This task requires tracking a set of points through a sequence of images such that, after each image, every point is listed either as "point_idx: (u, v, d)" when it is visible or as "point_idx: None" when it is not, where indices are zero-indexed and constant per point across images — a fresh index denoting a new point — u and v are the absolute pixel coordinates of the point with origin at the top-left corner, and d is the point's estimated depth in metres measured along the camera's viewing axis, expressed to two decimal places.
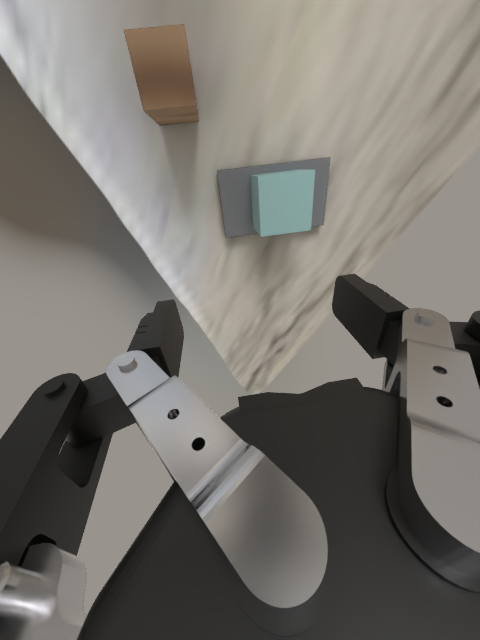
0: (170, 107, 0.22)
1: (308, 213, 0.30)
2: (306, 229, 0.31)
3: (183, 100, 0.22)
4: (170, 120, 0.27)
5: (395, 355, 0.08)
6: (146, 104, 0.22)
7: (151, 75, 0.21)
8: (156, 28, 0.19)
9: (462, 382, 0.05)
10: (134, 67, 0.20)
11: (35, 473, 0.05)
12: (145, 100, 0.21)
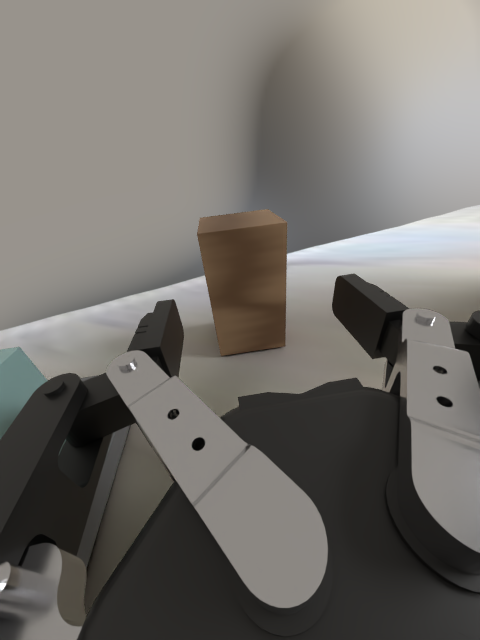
0: None
1: None
2: None
3: (204, 228, 0.13)
4: None
5: (395, 355, 0.08)
6: (205, 218, 0.16)
7: (232, 217, 0.16)
8: (275, 215, 0.15)
9: (462, 382, 0.05)
10: (238, 213, 0.17)
11: (35, 473, 0.05)
12: (209, 217, 0.16)
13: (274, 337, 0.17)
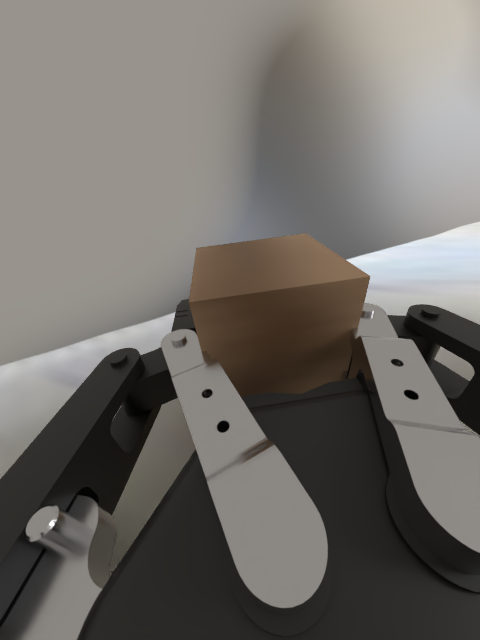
0: None
1: None
2: None
3: (204, 282, 0.07)
4: None
5: None
6: (205, 249, 0.10)
7: (251, 250, 0.09)
8: (329, 251, 0.08)
9: (418, 371, 0.05)
10: (259, 240, 0.10)
11: (91, 433, 0.05)
12: (212, 248, 0.10)
13: None
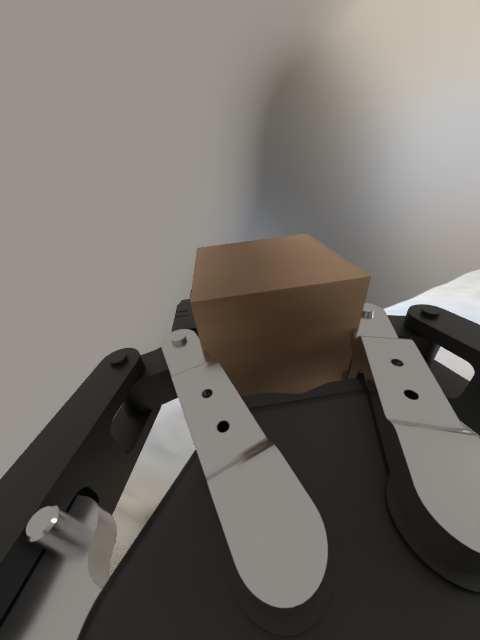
0: None
1: None
2: None
3: (205, 282, 0.07)
4: None
5: None
6: (205, 249, 0.10)
7: (252, 250, 0.09)
8: (330, 251, 0.08)
9: (418, 371, 0.05)
10: (260, 240, 0.10)
11: (91, 433, 0.05)
12: (212, 248, 0.10)
13: None
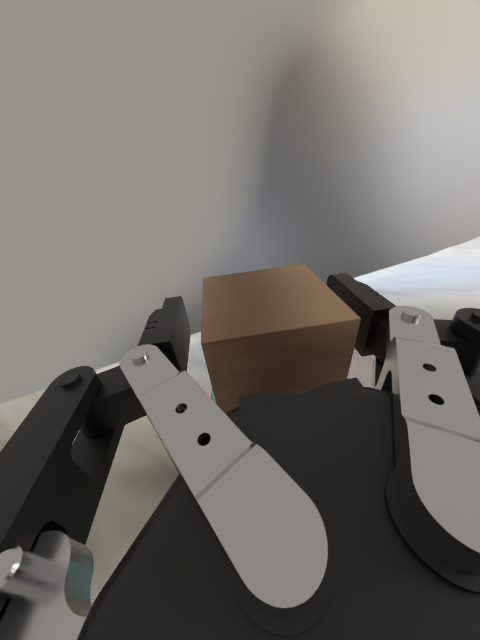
0: None
1: None
2: None
3: (213, 320, 0.08)
4: None
5: (383, 353, 0.08)
6: (211, 280, 0.11)
7: (254, 283, 0.10)
8: (325, 286, 0.09)
9: (451, 379, 0.05)
10: (261, 271, 0.11)
11: (49, 462, 0.05)
12: (217, 279, 0.11)
13: None
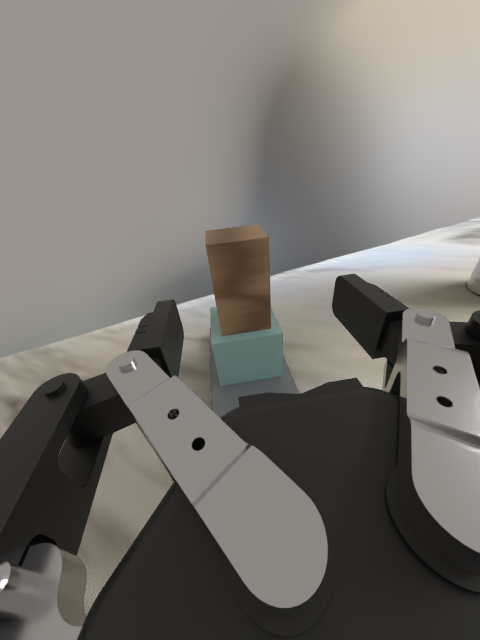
0: (206, 238, 0.20)
1: (233, 337, 0.23)
2: (212, 339, 0.23)
3: (210, 241, 0.19)
4: None
5: (395, 355, 0.08)
6: (209, 231, 0.22)
7: (230, 231, 0.21)
8: (261, 230, 0.20)
9: (462, 382, 0.05)
10: (235, 227, 0.22)
11: (35, 473, 0.05)
12: (213, 231, 0.22)
13: (262, 321, 0.23)
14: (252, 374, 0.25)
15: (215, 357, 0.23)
